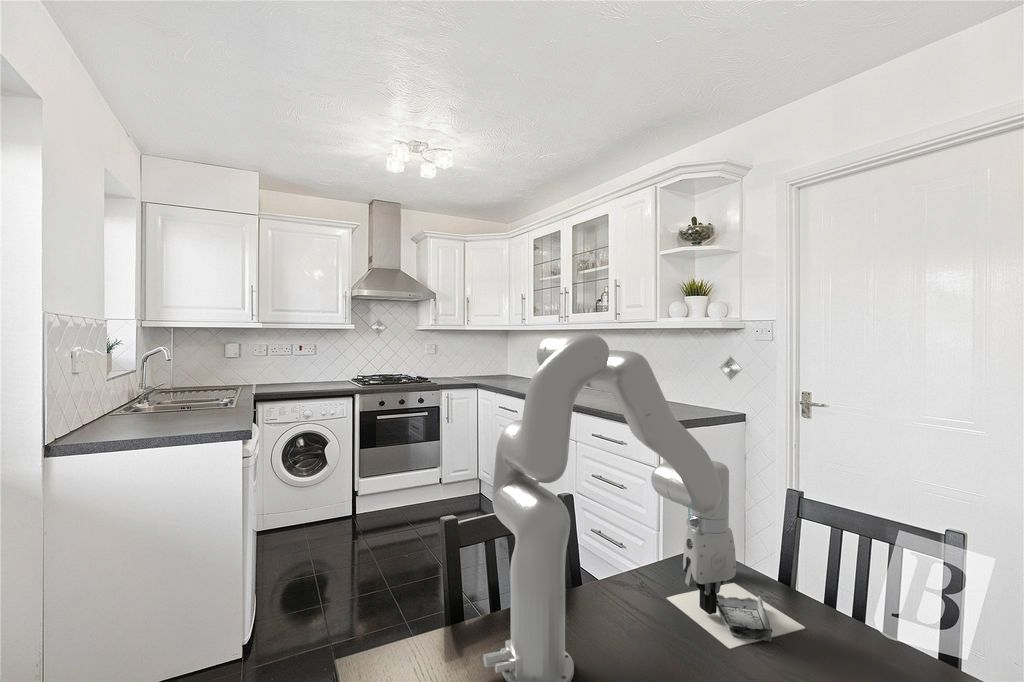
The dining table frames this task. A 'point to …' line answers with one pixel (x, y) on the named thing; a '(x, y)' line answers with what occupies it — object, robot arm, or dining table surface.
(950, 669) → the dining table surface
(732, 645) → the mat
